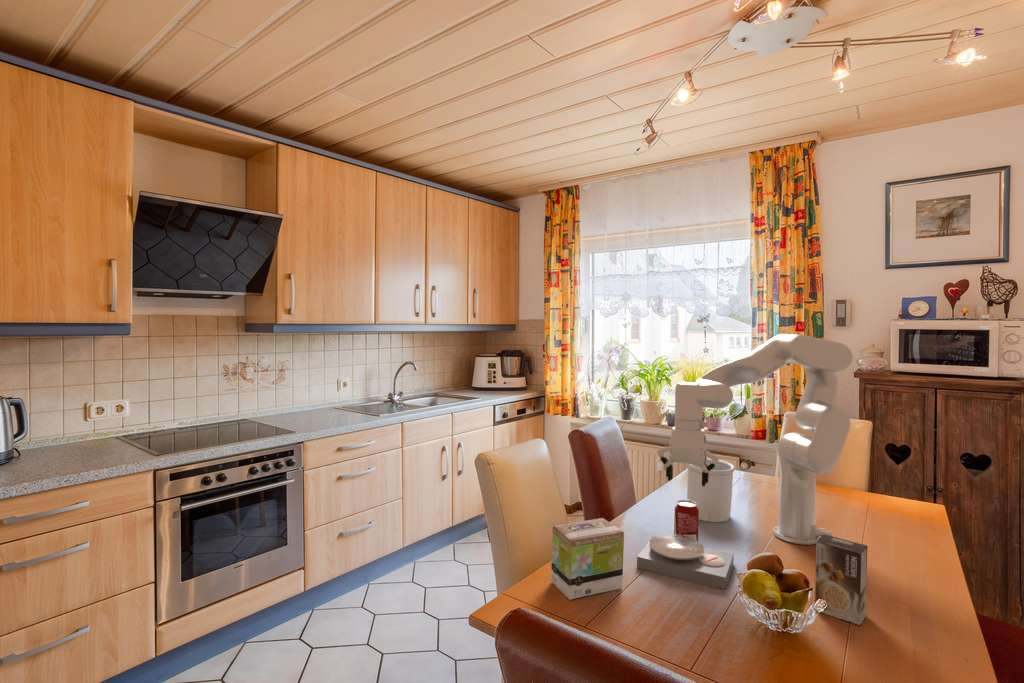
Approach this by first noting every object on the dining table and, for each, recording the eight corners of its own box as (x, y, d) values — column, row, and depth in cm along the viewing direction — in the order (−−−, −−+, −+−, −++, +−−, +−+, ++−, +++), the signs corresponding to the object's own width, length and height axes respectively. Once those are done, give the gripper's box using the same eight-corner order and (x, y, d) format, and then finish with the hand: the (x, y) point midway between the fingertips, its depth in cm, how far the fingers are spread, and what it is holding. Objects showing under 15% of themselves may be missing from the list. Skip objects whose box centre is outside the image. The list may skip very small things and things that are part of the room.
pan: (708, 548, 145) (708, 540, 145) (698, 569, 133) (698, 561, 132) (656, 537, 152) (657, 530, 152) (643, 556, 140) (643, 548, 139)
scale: (733, 564, 142) (733, 551, 142) (725, 589, 129) (725, 575, 129) (652, 546, 153) (652, 534, 153) (636, 567, 140) (637, 554, 140)
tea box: (570, 602, 123) (571, 540, 122) (550, 582, 132) (550, 524, 132) (623, 589, 129) (624, 530, 128) (601, 571, 138) (602, 515, 138)
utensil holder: (741, 517, 176) (743, 465, 175) (714, 527, 168) (716, 472, 167) (703, 504, 188) (705, 455, 187) (676, 512, 180) (677, 461, 179)
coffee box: (867, 615, 118) (870, 545, 117) (860, 627, 114) (862, 554, 113) (821, 599, 125) (823, 533, 124) (813, 610, 120) (815, 541, 120)
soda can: (699, 549, 152) (700, 508, 151) (675, 546, 153) (676, 506, 152) (696, 539, 158) (697, 500, 158) (672, 537, 160) (673, 498, 159)
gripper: (721, 425, 153) (720, 483, 154) (661, 419, 161) (660, 474, 162) (717, 430, 146) (715, 491, 147) (655, 423, 155) (653, 481, 156)
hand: (686, 482), depth 155 cm, fingers open, 9 cm apart
